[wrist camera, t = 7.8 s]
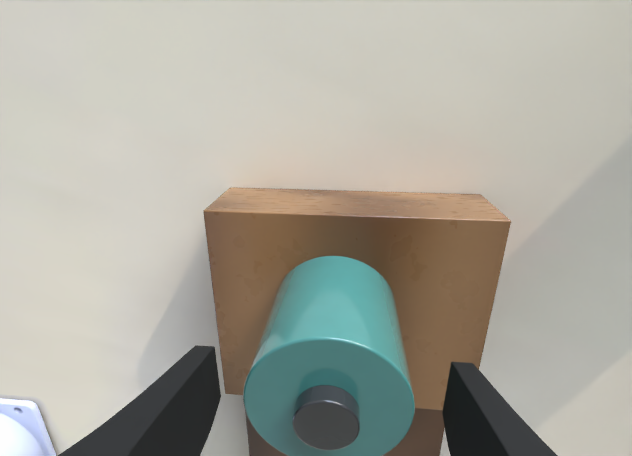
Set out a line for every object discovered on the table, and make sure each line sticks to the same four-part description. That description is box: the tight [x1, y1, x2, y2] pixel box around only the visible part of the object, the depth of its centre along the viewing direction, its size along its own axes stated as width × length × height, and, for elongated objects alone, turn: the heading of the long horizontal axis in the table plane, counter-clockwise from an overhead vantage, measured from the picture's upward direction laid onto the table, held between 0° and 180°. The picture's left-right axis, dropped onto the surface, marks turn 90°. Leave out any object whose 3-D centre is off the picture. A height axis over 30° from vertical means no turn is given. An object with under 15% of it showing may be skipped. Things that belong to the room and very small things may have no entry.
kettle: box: [243, 256, 415, 456], centre depth 12 cm, size 7×5×5 cm
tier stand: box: [204, 188, 511, 456], centre depth 18 cm, size 11×18×3 cm, turn 0°
